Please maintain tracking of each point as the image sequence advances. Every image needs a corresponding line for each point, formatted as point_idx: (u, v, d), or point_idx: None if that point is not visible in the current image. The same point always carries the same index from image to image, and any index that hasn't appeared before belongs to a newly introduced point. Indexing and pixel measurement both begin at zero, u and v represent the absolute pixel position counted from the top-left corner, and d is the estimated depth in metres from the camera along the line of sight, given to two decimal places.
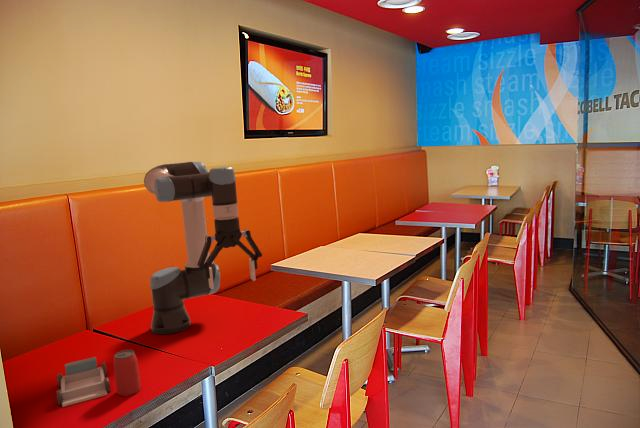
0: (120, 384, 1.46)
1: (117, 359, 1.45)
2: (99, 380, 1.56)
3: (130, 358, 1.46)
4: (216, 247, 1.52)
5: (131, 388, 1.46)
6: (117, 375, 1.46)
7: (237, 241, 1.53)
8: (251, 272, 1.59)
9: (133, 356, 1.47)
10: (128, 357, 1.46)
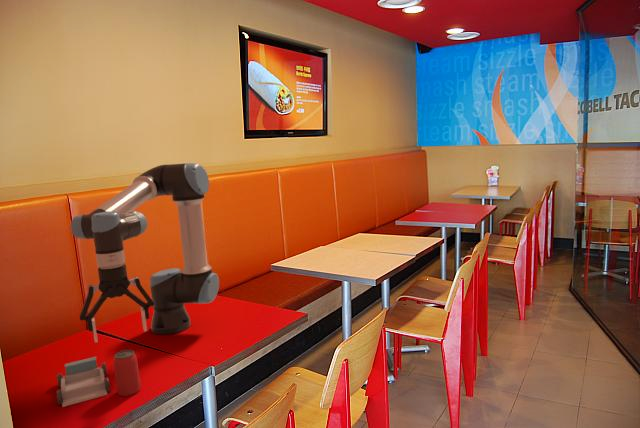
0: (120, 384, 1.46)
1: (117, 359, 1.45)
2: (99, 380, 1.56)
3: (130, 358, 1.46)
4: (100, 297, 1.42)
5: (131, 388, 1.46)
6: (117, 375, 1.46)
7: (124, 290, 1.44)
8: (142, 322, 1.49)
9: (133, 356, 1.47)
10: (128, 357, 1.46)
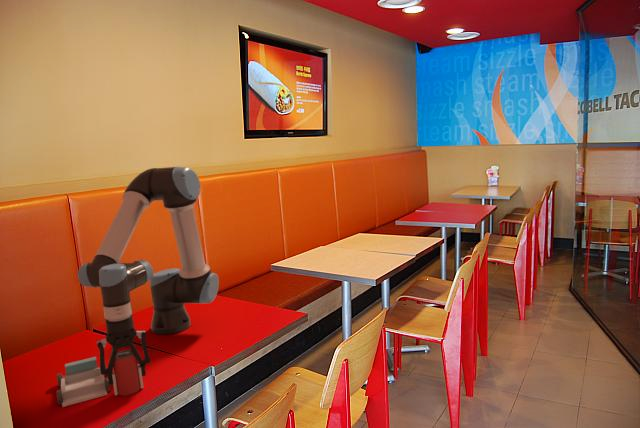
0: (119, 384, 1.46)
1: (117, 359, 1.45)
2: (99, 380, 1.56)
3: (129, 358, 1.46)
4: (112, 350, 1.46)
5: (130, 388, 1.46)
6: (117, 375, 1.46)
7: (129, 342, 1.46)
8: None
9: (133, 356, 1.47)
10: (128, 357, 1.46)
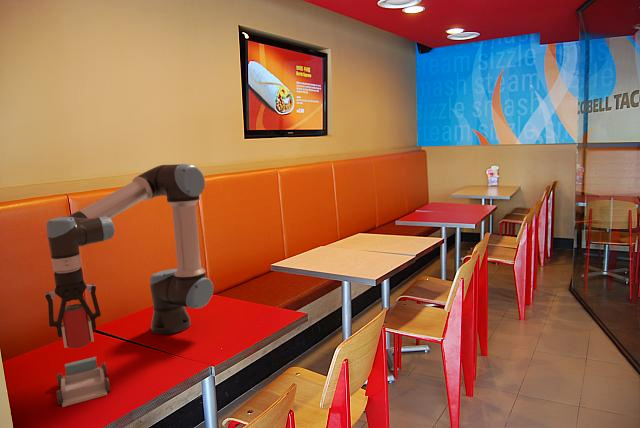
0: (69, 336, 1.47)
1: (66, 311, 1.46)
2: (99, 380, 1.56)
3: (78, 311, 1.47)
4: (61, 303, 1.47)
5: (80, 340, 1.47)
6: (66, 327, 1.46)
7: (78, 295, 1.47)
8: None
9: (82, 309, 1.48)
10: (77, 309, 1.47)
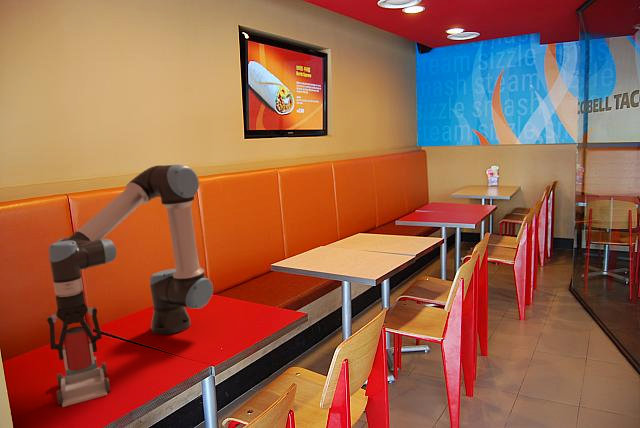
0: (69, 359, 1.48)
1: (67, 334, 1.47)
2: (99, 380, 1.56)
3: (80, 334, 1.48)
4: (62, 326, 1.48)
5: (81, 363, 1.49)
6: (67, 350, 1.48)
7: (79, 318, 1.48)
8: None
9: (83, 332, 1.49)
10: (78, 332, 1.48)
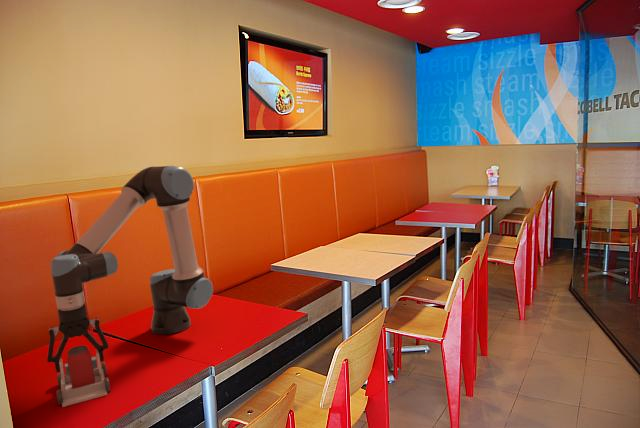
0: (73, 379, 1.49)
1: (70, 355, 1.48)
2: (99, 380, 1.56)
3: (82, 354, 1.49)
4: (63, 338, 1.48)
5: (84, 383, 1.50)
6: (70, 370, 1.49)
7: (82, 331, 1.49)
8: None
9: (86, 352, 1.50)
10: (81, 353, 1.49)
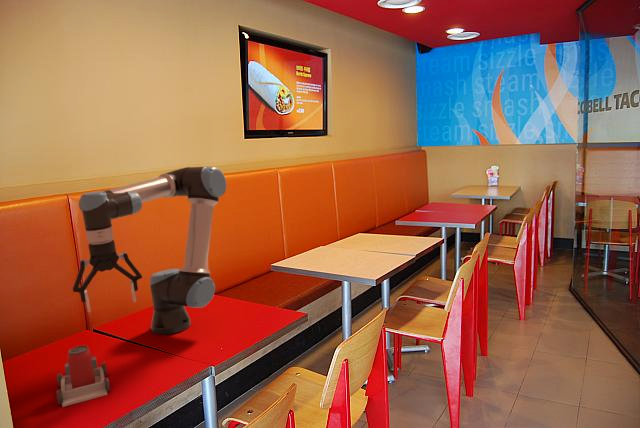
0: (73, 379, 1.49)
1: (70, 354, 1.48)
2: (99, 380, 1.56)
3: (83, 354, 1.49)
4: (91, 271, 1.54)
5: (84, 382, 1.50)
6: (71, 370, 1.49)
7: (113, 264, 1.55)
8: (132, 293, 1.61)
9: (87, 352, 1.51)
10: (81, 352, 1.49)
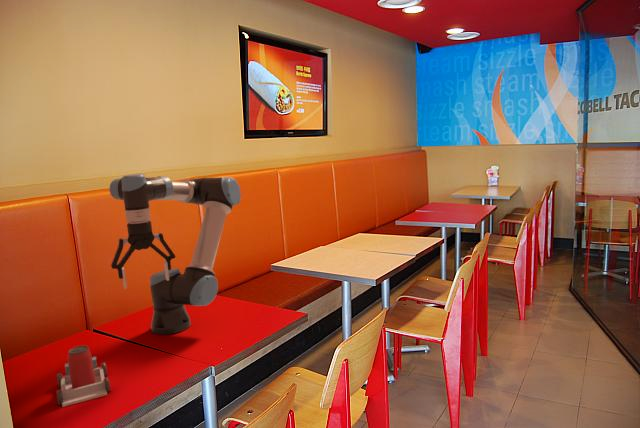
0: (73, 379, 1.49)
1: (70, 354, 1.48)
2: (99, 380, 1.56)
3: (83, 354, 1.49)
4: (129, 249, 1.63)
5: (84, 383, 1.50)
6: (71, 370, 1.49)
7: (149, 243, 1.64)
8: (165, 272, 1.69)
9: (87, 352, 1.51)
10: (81, 352, 1.49)
